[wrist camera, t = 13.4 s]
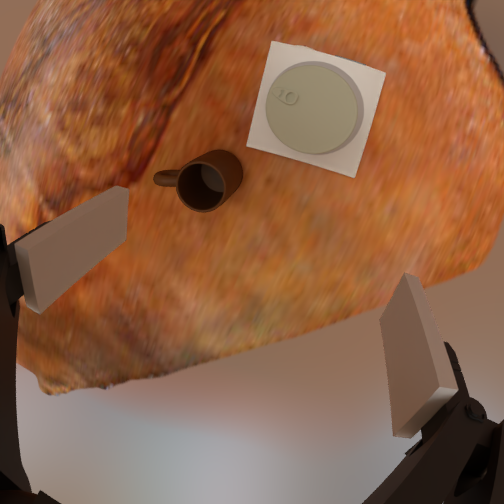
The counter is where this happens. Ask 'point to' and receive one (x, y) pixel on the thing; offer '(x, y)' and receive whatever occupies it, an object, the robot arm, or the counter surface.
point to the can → (311, 109)
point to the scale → (354, 73)
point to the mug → (204, 180)
